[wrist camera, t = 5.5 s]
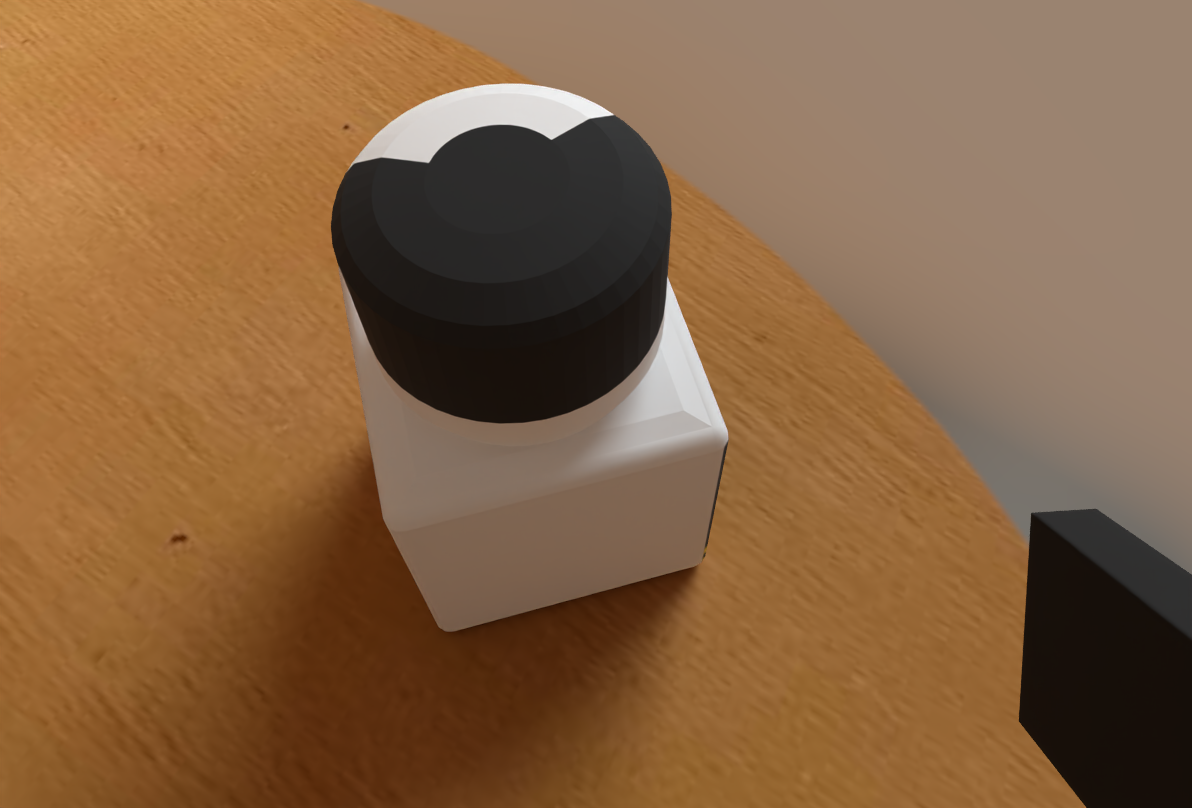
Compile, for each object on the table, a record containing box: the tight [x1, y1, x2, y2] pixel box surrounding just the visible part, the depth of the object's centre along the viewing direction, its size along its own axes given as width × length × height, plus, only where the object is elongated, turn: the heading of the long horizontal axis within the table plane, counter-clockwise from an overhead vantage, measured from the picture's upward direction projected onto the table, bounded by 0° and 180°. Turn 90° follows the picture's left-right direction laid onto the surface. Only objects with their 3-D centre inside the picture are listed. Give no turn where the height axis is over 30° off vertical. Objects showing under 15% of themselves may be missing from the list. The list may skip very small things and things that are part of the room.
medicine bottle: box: [331, 84, 728, 632], centre depth 22 cm, size 7×7×12 cm
